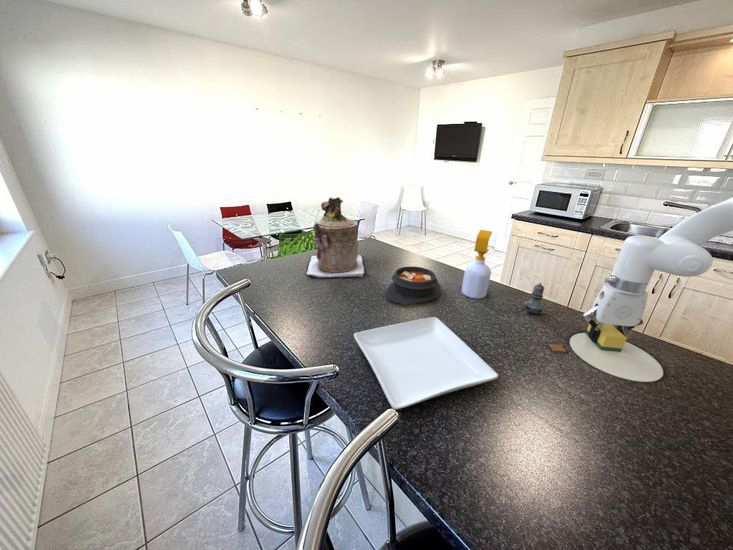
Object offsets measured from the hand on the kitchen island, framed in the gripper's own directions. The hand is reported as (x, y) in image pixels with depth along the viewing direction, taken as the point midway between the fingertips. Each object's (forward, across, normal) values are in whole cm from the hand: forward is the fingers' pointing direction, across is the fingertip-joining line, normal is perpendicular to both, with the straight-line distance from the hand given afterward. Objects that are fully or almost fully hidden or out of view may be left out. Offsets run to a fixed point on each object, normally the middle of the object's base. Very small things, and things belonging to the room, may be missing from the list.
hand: (603, 340), depth 84 cm
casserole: (+2, -54, +22) cm, 58 cm away
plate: (+2, 0, -5) cm, 6 cm away
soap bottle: (+2, -31, +27) cm, 41 cm away
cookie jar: (+2, -89, +41) cm, 98 cm away
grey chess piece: (+2, -14, +15) cm, 20 cm away
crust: (+2, -14, -5) cm, 15 cm away
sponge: (+1, 0, 0) cm, 1 cm away
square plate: (+2, -52, -17) cm, 55 cm away
